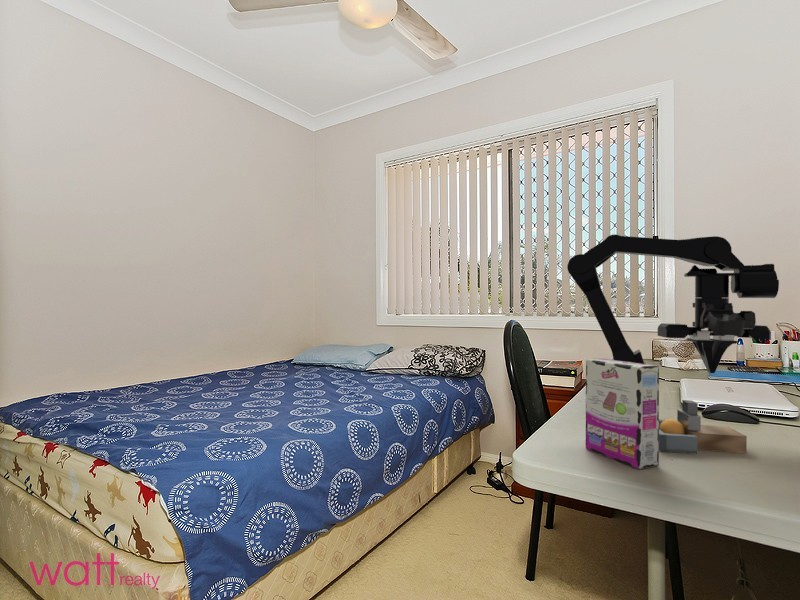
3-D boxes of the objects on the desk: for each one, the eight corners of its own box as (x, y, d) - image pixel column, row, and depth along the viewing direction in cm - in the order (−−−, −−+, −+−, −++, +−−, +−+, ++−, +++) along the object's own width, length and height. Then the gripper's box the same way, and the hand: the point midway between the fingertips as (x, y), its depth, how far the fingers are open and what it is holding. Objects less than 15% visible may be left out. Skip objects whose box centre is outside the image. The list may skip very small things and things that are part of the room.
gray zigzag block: (688, 430, 79) (688, 404, 79) (677, 422, 84) (677, 398, 84) (700, 430, 79) (700, 405, 79) (688, 423, 83) (689, 399, 83)
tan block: (692, 449, 78) (692, 432, 78) (678, 439, 84) (679, 423, 84) (746, 453, 76) (746, 436, 76) (728, 442, 82) (728, 426, 82)
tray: (660, 451, 77) (660, 434, 77) (639, 432, 88) (639, 418, 88) (697, 454, 76) (697, 436, 76) (672, 435, 87) (672, 420, 87)
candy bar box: (660, 466, 70) (661, 365, 70) (639, 470, 68) (639, 367, 68) (603, 444, 81) (604, 357, 81) (583, 448, 79) (584, 358, 79)
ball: (689, 423, 79) (687, 445, 79) (680, 418, 83) (678, 438, 83) (665, 420, 80) (663, 442, 80) (657, 415, 84) (655, 435, 84)
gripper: (677, 297, 84) (677, 377, 84) (789, 298, 80) (789, 382, 80) (656, 298, 95) (656, 368, 95) (754, 298, 91) (754, 372, 91)
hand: (711, 372), depth 90 cm, fingers closed
